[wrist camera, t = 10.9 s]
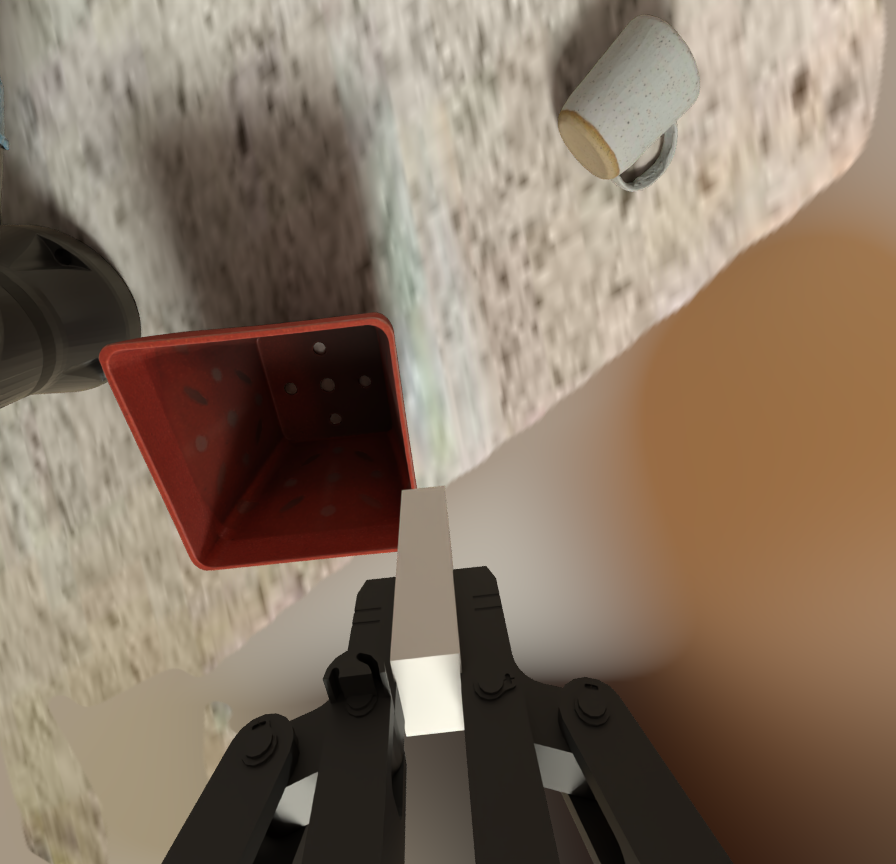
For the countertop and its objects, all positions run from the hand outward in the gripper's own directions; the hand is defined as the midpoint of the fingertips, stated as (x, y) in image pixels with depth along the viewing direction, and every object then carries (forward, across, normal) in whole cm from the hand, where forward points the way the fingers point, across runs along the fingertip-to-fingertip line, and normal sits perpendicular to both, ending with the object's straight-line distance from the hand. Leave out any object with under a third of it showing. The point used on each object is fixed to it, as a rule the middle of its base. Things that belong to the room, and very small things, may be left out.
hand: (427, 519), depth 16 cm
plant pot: (+33, -11, -5) cm, 35 cm away
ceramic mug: (+32, +19, +15) cm, 41 cm away
